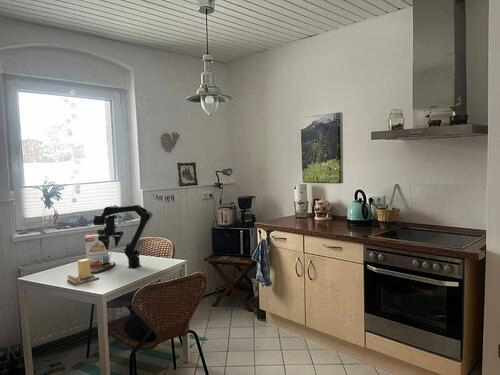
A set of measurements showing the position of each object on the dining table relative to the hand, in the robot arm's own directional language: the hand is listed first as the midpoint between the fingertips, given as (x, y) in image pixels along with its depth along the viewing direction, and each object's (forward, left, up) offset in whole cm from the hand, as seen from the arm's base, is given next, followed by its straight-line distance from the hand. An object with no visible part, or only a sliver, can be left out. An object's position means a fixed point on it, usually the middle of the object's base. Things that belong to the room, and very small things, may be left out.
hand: (111, 248), depth 248 cm
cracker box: (+16, -4, -13) cm, 21 cm away
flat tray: (-1, +26, -13) cm, 29 cm away
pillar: (-1, +26, -12) cm, 29 cm away
